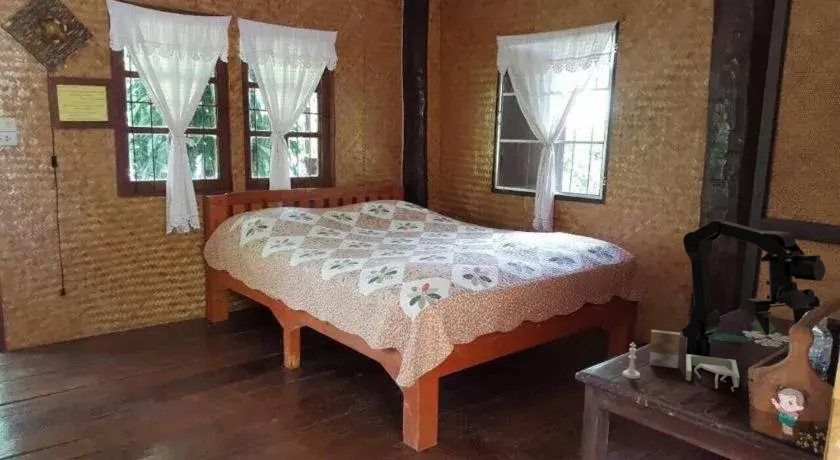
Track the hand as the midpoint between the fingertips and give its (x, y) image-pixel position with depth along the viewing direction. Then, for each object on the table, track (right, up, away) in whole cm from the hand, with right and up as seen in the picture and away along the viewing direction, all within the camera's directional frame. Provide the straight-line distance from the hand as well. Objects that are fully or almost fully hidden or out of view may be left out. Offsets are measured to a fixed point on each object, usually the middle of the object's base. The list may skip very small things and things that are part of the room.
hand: (782, 333), depth 174 cm
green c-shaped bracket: (-16, -14, +8) cm, 23 cm away
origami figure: (-18, -15, +2) cm, 23 cm away
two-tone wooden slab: (-27, -12, +16) cm, 34 cm away
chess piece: (-39, -14, +8) cm, 43 cm away
